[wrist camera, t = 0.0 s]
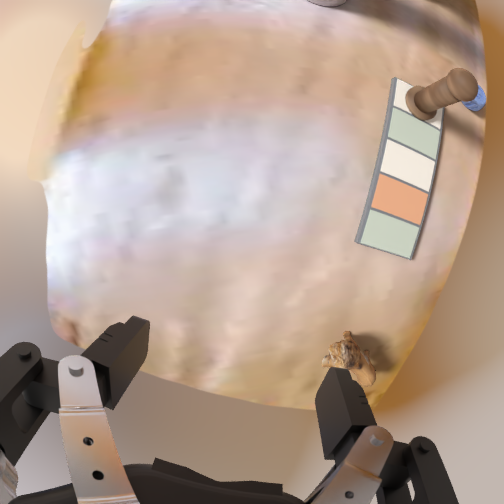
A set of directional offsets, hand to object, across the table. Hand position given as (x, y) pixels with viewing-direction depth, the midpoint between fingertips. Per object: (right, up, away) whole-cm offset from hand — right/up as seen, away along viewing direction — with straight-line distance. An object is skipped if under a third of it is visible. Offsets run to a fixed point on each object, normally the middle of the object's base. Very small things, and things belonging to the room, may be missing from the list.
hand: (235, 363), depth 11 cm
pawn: (+26, +27, +21) cm, 43 cm away
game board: (+24, +18, +25) cm, 39 cm away
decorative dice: (+39, +32, +20) cm, 55 cm away
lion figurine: (+17, -12, +32) cm, 39 cm away
